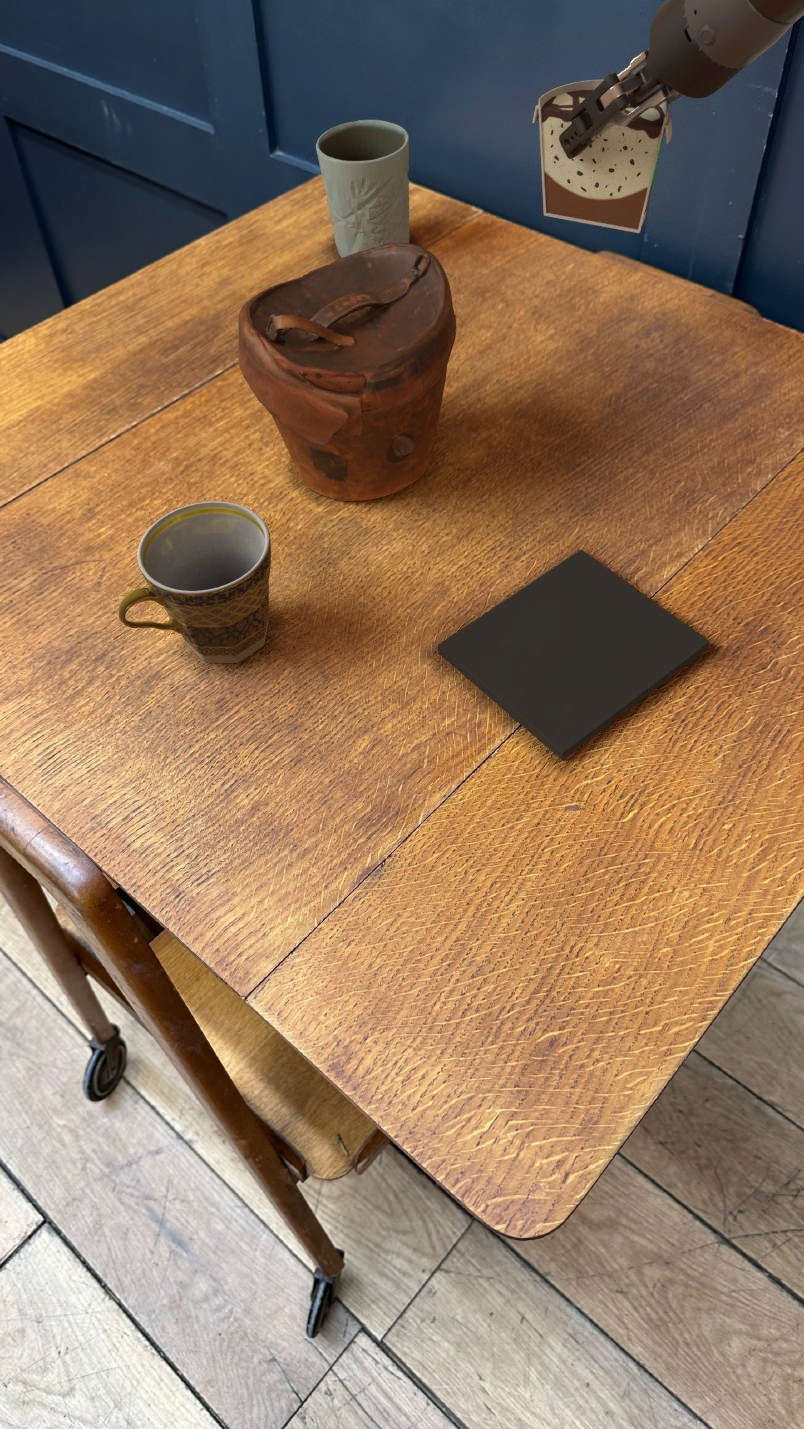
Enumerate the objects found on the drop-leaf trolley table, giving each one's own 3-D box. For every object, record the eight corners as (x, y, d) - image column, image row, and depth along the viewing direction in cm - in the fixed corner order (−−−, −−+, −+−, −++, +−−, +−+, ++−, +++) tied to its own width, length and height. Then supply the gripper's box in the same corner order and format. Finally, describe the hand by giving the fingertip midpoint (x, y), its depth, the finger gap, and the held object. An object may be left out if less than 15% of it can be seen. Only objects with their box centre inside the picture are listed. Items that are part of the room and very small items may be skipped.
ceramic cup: (242, 573, 89) (219, 482, 81) (313, 635, 84) (296, 545, 76) (114, 652, 84) (77, 564, 76) (182, 723, 79) (150, 637, 71)
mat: (580, 557, 88) (581, 549, 87) (708, 649, 81) (710, 641, 80) (437, 652, 82) (437, 644, 81) (562, 760, 75) (563, 752, 75)
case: (225, 504, 94) (181, 329, 80) (325, 381, 105) (302, 207, 91) (400, 555, 89) (387, 376, 75) (487, 420, 100) (490, 241, 86)
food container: (677, 204, 96) (695, 87, 88) (655, 236, 93) (672, 117, 85) (553, 183, 100) (559, 69, 92) (528, 212, 97) (533, 97, 89)
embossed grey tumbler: (419, 263, 118) (415, 155, 108) (332, 274, 118) (319, 166, 108) (407, 220, 124) (401, 113, 115) (324, 230, 124) (311, 124, 114)
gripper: (766, -62, 78) (632, 66, 93) (639, -8, 73) (519, 119, 88) (807, 34, 80) (668, 145, 95) (686, 94, 75) (560, 201, 90)
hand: (597, 132), depth 92 cm, fingers closed on food container, 7 cm apart
